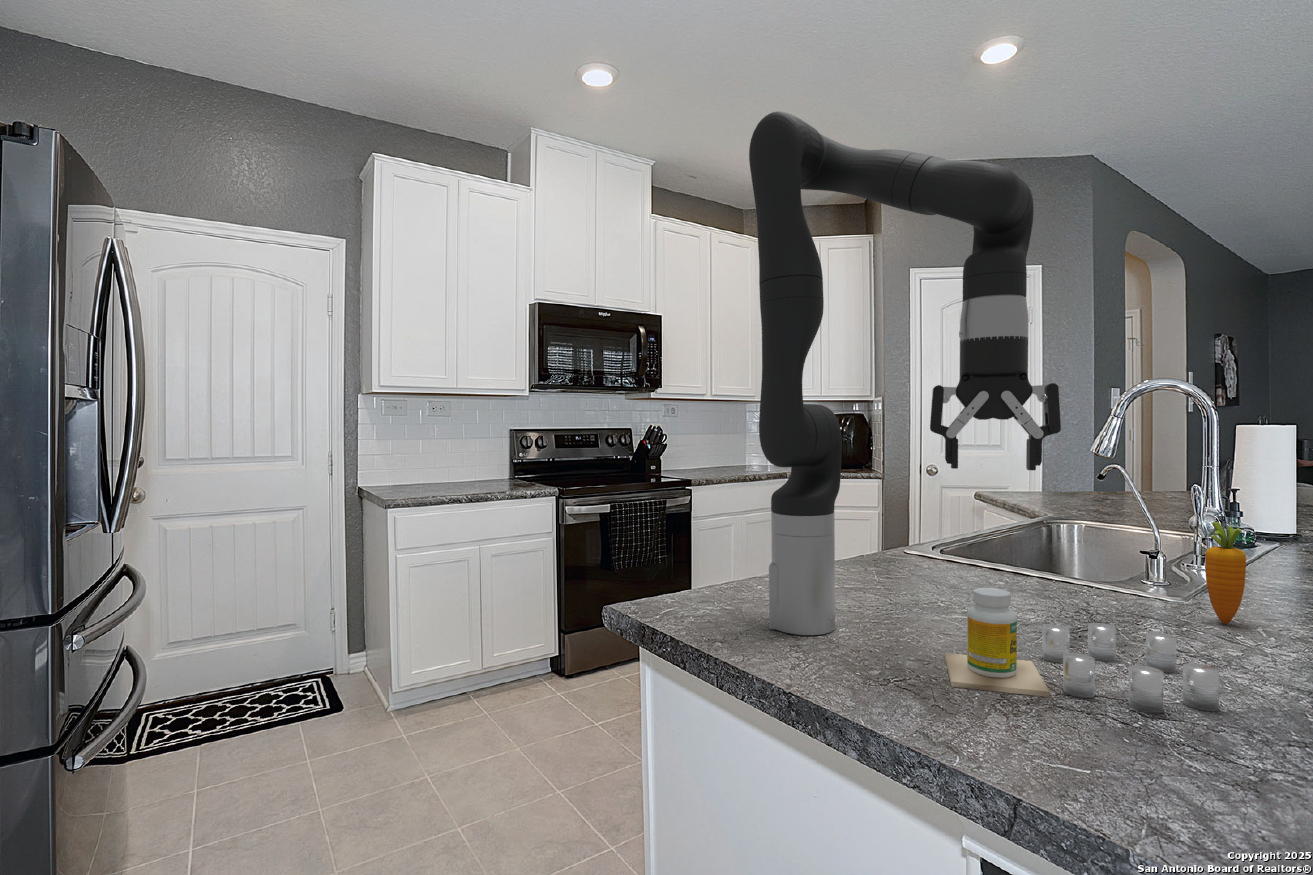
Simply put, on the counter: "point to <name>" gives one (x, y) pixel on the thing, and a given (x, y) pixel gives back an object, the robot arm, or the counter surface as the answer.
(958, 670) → the pad
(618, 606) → the counter surface
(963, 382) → the robot arm
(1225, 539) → the carrot
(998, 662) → the supplement bottle
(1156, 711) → the spacer posts
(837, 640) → the counter surface
